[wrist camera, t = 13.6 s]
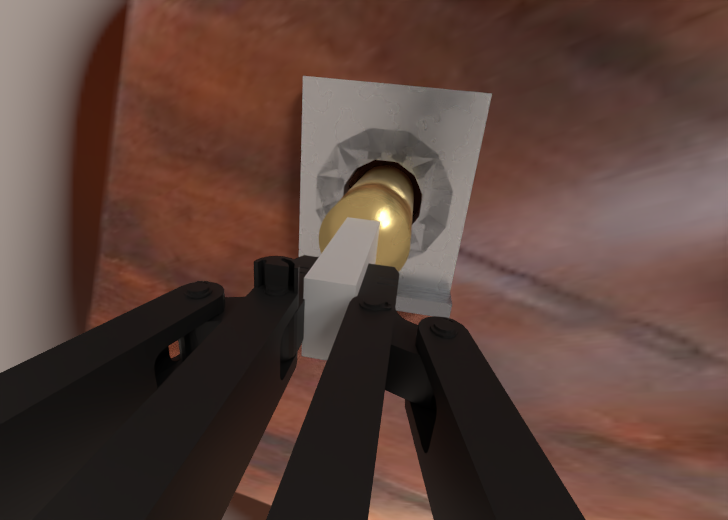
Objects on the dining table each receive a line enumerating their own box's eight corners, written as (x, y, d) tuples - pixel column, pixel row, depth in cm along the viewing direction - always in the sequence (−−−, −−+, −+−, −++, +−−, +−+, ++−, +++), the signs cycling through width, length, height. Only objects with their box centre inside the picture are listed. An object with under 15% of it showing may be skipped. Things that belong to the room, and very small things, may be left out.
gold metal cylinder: (359, 162, 26) (320, 191, 16) (418, 168, 26) (417, 203, 16) (354, 218, 28) (316, 278, 18) (409, 226, 28) (403, 291, 17)
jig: (311, 78, 25) (292, 72, 21) (486, 95, 24) (498, 91, 20) (305, 272, 31) (289, 293, 27) (445, 293, 29) (448, 318, 26)
